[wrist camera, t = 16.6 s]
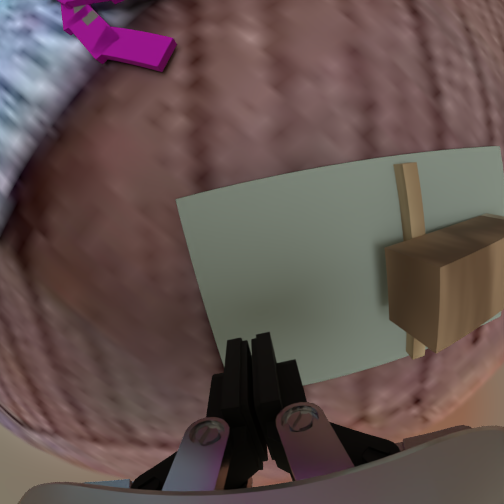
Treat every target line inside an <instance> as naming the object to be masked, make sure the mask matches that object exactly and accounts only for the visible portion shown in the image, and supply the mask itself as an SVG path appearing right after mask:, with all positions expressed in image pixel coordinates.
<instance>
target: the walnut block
mask: <svg viewBox="0 0 504 504" xmlns="http://www.w3.org/2000/svg"><path fill="white" fill-rule="evenodd" d="M384 249H385V259H386V271H387V285H388V303H389V320H390V321H391V322H393V323H394V324H396V325H397V326H398V327H400V328H401V329H403V330H404V331H405V332H407V333H408V334H410V335H411V336H412V337H414V338H415V339H417V340H418V341H419V342H421V343H422V344H424V345H425V346H426V347H428V348H429V349H430V350H432V351H433V352H435V353H438V352H440V351H441V350H443V349H445V348H446V347H448V346H450V345H451V344H453V343H455V342H456V341H458V340H459V339H461V338H463V337H464V336H466V335H467V334H469V333H470V332H472V331H473V330H475V329H476V328H478V327H479V326H481V325H482V324H484V323H485V322H487V321H488V320H489V319H491V318H492V317H494V316H495V315H496V314H498V313H499V312H500V311H502V310H503V309H504V216H499V215H493V214H487V213H486V214H483V215H480V216H478V217H475V218H472V219H469V220H466V221H463V222H460V223H457V224H455V225H452V226H449V227H446V228H443V229H440V230H437V231H434V232H431V233H428V234H425V235H422V236H419V237H416V238H413V239H410V240H407V241H404V242H400V243H397V244H394V245H391V246H388V247H385V248H384Z"/></svg>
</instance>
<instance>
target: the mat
mask: <svg viewBox="0 0 504 504" xmlns="http://www.w3.org/2000/svg"><path fill="white" fill-rule="evenodd" d="M408 162H417V167H418V174H419V180H420V187H421V195H422V203H423V212H424V223H425V234H428V233H431V232H434V231H437V230H440V229H443V228H446V227H449V226H452V225H455V224H457V223H460V222H463V221H466V220H469V219H472V218H475V217H478V216H480V215H483V214H486V213H487V214H493V215H499V216H504V174H503V165H502V158H501V151H500V146H490V147H475V148H462V149H450V150H440V151H430V152H421V153H412V154H404V155H396V156H389V157H381V158H374V159H367V160H361V161H354V162H348V163H342V164H336V165H330V166H324V167H319V168H313V169H308V170H302V171H297V172H292V173H287V174H282V175H277V176H272V177H267V178H263V179H258V180H253V181H249V182H244V183H240V184H235V185H231V186H227V187H223V188H218V189H214V190H210V191H206V192H202V193H198V194H194V195H190V196H186V197H182V198H178V199H176V203H177V207H178V211H179V215H180V219H181V223H182V227H183V231H184V235H185V239H186V242H187V246H188V250H189V253H190V257H191V261H192V264H193V268H194V271H195V275H196V278H197V282H198V285H199V289H200V292H201V296H202V299H203V302H204V306H205V309H206V312H207V316H208V319H209V322H210V325H211V328H212V332H213V335H214V338H215V341H216V344H217V347H218V350H219V353H220V356H221V359H222V362H223V365H224V366H225V356H226V346H227V340H230V339H235V338H242V341H244V340H247V341H248V344H249V347H250V351H251V355H252V349H251V339H254V338H256V334H261V333H265V332H270V335H271V339H272V344H273V348H274V352H275V357H276V361H277V363H280V362H284V361H289V360H293V359H296V362H297V366H298V370H299V374H300V378H301V381H302V385H308V384H312V383H317V382H321V381H325V380H329V379H333V378H337V377H341V376H344V375H348V374H352V373H355V372H359V371H362V370H366V369H369V368H372V367H375V366H379V365H382V364H385V363H388V362H391V361H394V360H397V359H400V358H403V357H406V356H409V354H408V353H407V352H406V332H405V331H404V330H403V329H401V328H400V327H398V326H397V325H396V324H394V323H393V322H391V321H390V320H389V303H388V285H387V271H386V259H385V249H384V248H385V247H388V246H391V245H394V244H397V243H400V242H403V231H402V222H401V213H400V205H399V198H398V191H397V184H396V178H395V172H394V166H393V164H400V163H408ZM500 316H501V311H500V312H499V313H498V314H496V315H495V316H494V317H492V318H491V319H489V320H488V321H487V322H485V323H484V324H486V323H488V322H490V321H492V320H494V319H496V318H498V317H500ZM484 324H482V325H484ZM482 325H481V326H482ZM425 349H428V347H426V346H425Z"/></svg>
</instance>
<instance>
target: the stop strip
mask: <svg viewBox="0 0 504 504" xmlns="http://www.w3.org/2000/svg"><path fill="white" fill-rule="evenodd" d="M393 166H394V172H395V178H396V184H397V191H398V198H399V205H400V213H401V222H402V231H403V242H404V241H407V240H410V239H413V238H416V237H419V236H422V235H425V223H424V212H423V203H422V195H421V187H420V180H419V174H418V167H417V162H408V163H400V164H393ZM406 352H407V353H408V354H409V356H410V357H411V358H412V359H416V358H419V357H421V356H424V355H425V345H424V344H422V343H421V342H419V341H418V340H417V339H415V338H414V337H412V336H411V335H410V334H408V333H407V332H406Z"/></svg>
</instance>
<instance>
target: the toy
mask: <svg viewBox="0 0 504 504" xmlns="http://www.w3.org/2000/svg"><path fill="white" fill-rule="evenodd" d="M57 1H58V2H60V3H61V11H62V20H63V29H64V31H65V32H67V33H68V34H69V35H72V34H74V35H75V36H76V37H77V38H78V39H79V40H80V42H81V43H82V44H83V45H84V46H85V47H86V49H87V50H88V51H89V52H90V53H91V54H92V56H93V57H94V58H95V59H96V60H97V61H99V62H100V63H102V64H104V63H105V62H106V61H107V60H108V59H109V60H114V61H119V62H123V63H128V64H132V65H137V66H141V67H145V68H149V69H153V70H156V71H160V72H163V70H164V68H165V66H166V64H167V62H168V60H169V58H170V56H171V55H172V53H173V51H174V49H175V47H176V46H177V44H176V42H175V40H174V39H173V38H171V37H166V36H162V35H157V34H152V33H147V32H142V31H136V30H130V29H124V28H117V27H110V26H109V25H108V24H107V23H106V22H105V21H104V20H103V19H102V18H101V17H100V16H99V15H98V14H97V13H96V12H95V11H94V10H93V9H92V5H91V4H93V3H100V2H106V1H112V2H113V3H114V4H117V3H120V2H122V1H124V0H57Z"/></svg>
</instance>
